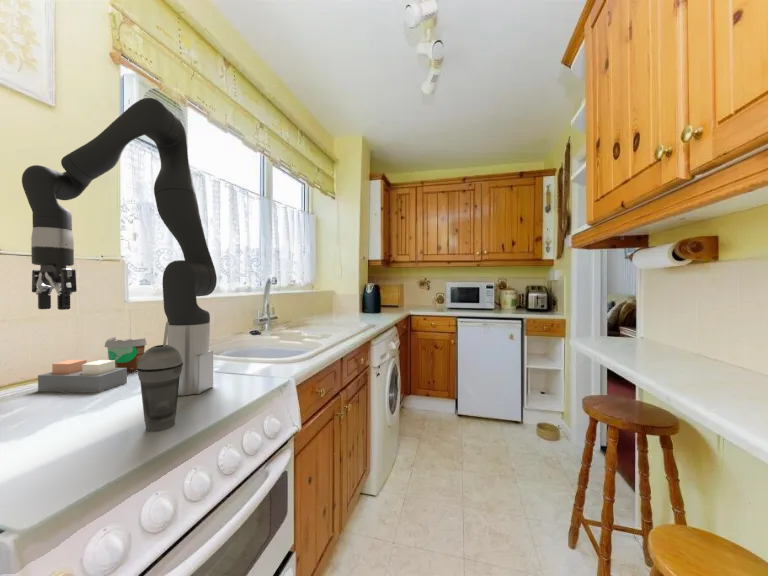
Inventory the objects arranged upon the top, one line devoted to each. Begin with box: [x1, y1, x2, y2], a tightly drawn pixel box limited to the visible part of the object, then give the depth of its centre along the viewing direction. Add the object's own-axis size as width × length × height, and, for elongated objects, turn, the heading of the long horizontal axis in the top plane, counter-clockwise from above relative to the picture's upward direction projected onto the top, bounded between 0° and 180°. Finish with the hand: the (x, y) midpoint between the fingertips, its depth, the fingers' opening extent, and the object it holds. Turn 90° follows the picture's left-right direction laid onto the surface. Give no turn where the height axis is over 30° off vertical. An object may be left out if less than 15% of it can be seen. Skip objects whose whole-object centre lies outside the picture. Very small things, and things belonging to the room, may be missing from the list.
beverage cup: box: [136, 321, 183, 432], centre depth 60 cm, size 7×7×20 cm
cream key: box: [82, 359, 115, 375], centre depth 82 cm, size 4×4×4 cm
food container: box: [104, 336, 148, 373], centre depth 97 cm, size 12×6×10 cm, turn 81°
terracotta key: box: [51, 359, 88, 374], centre depth 82 cm, size 4×4×4 cm
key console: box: [37, 368, 128, 393], centre depth 82 cm, size 16×8×4 cm, turn 88°
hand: (54, 309), depth 81 cm, fingers open, 8 cm apart
